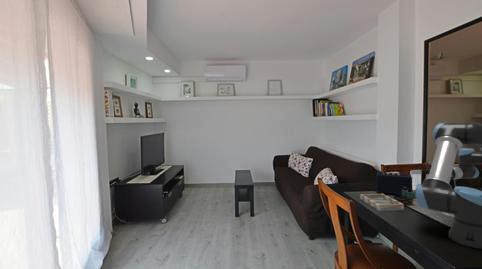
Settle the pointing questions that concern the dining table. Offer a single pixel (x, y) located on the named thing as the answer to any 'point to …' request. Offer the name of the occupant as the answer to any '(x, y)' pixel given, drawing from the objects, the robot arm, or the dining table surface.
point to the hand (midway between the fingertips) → (418, 174)
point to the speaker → (393, 182)
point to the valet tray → (381, 202)
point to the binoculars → (405, 197)
